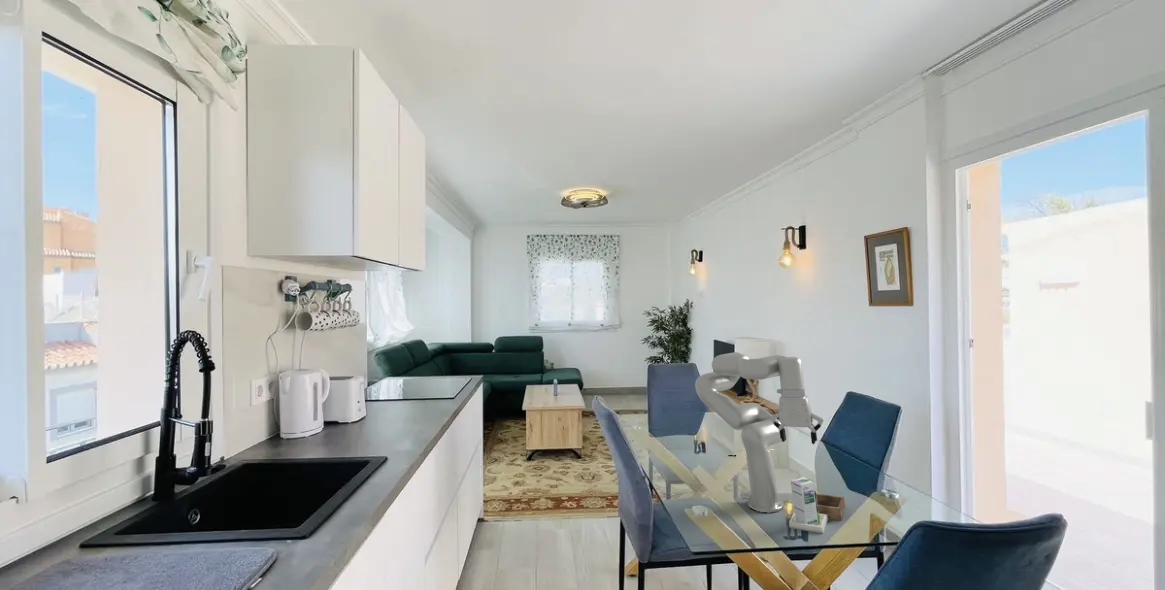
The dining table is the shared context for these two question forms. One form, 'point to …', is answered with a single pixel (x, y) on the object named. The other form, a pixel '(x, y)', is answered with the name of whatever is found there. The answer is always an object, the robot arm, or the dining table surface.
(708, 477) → the dining table surface
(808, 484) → the syrup box
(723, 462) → the dining table surface
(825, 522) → the parts tray
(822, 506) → the holder collar
